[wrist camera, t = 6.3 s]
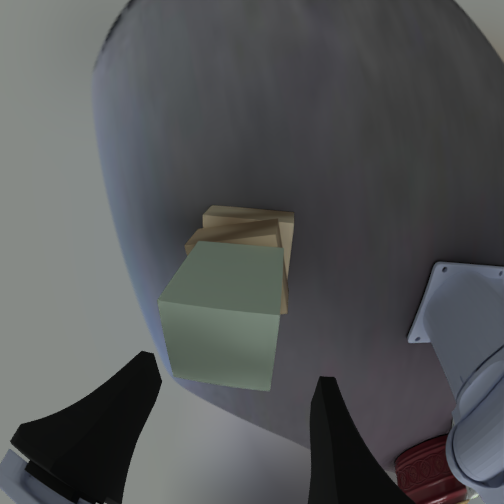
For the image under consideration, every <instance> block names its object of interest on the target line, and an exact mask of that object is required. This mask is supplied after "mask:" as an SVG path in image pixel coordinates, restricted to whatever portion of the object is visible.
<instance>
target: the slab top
mask: <svg viewBox="0 0 504 504" xmlns="http://www.w3.org/2000/svg"><path fill="white" fill-rule="evenodd" d="M198 241H207V242H220V243H232V244H244V245H255V246H267V247H279V248H282V241H281V234H280V228H279V221H278V218H277V219H269V220H262V221H254V222H246V223H238V224H230V225H223V226H216V227H208V228H201V229H197V231H196V232H195V233H194V234H193V236H192V237H191V238H190V239H189V240H188V242H187V243H186V244H185V245H184V246H185V250H186V253H187V256H188V255H189V253H190V252H191V251H192V249H193V248H194V246H195V245H196V244H197V242H198ZM288 293H289V290H288V282H287V275H286V268H285V261H284V257H283V276H282V293H281V308H280V314H288Z"/></svg>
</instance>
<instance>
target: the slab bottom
mask: <svg viewBox="0 0 504 504" xmlns="http://www.w3.org/2000/svg"><path fill="white" fill-rule="evenodd" d="M277 218H278V221H279V228H280V234H281V241H282V248H284V261H285V268H286V275H287V278H288V270H289V262H290V254H291V246H292V237H293V229H294V212H285V211H275V210H264V209H253V208H242V207H230V206H216V205H212V206H211V207H210V208H209V209H208V210H207V211H206V212H205V213H204V214H203V228H208V227H216V226H223V225H230V224H238V223H246V222H254V221H262V220H269V219H277Z"/></svg>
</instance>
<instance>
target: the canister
mask: <svg viewBox="0 0 504 504" xmlns="http://www.w3.org/2000/svg"><path fill="white" fill-rule="evenodd" d="M447 437H448V435H444V436H440V437H437V438H434V439H431V440H428V441H426V442H423V443H421V444H419V445H417V446H415V447H413V448H411V449H409V450H407V451H406V452H404V453H403V454H401V455H400V456H399V457H398V458H397V459H396V461H395V473H396V475H397V484H398V487H399V488H400V489H401V490H402V491H403V492H404V493H405V494H406V495H407V496H408V497H409V498H411V499H412V500H413V501H414V502H415V503H416V504H467V503H468V502H469V499H468V500H466V497H467V489H466V485H464V484H462V483H461V482H460V481H458V479H457V478H456V477H455V476H454V475H453V473H452V472H451V470H450V467H449V465H448V462H447V458H446V441H447Z"/></svg>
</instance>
